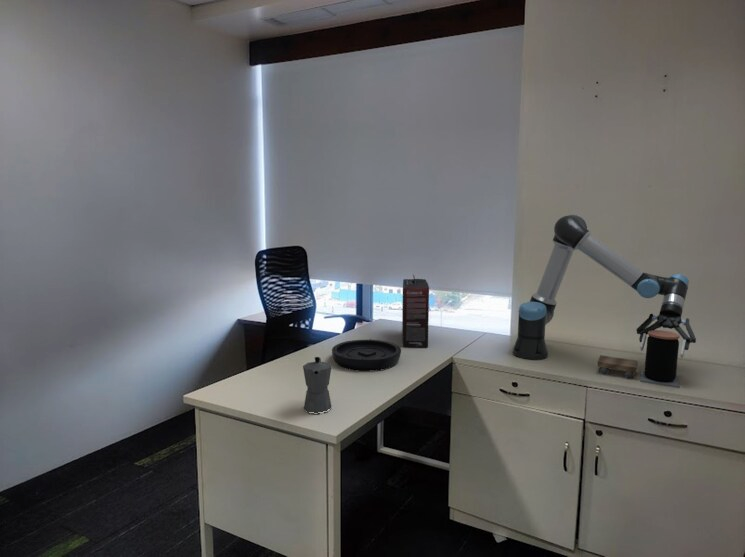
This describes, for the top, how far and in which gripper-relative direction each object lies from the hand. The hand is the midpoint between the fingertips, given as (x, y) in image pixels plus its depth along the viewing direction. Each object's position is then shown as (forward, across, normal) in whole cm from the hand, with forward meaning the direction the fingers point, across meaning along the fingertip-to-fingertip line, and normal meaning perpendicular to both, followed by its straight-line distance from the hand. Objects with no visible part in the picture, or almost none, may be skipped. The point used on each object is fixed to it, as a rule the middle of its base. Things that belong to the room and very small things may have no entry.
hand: (661, 352), depth 189 cm
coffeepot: (+81, +83, +64) cm, 133 cm away
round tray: (+47, +103, +30) cm, 117 cm away
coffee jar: (+6, 0, -9) cm, 11 cm away
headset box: (+19, +104, +2) cm, 106 cm away
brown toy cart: (+9, +15, -8) cm, 19 cm away
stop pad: (+7, 0, -10) cm, 12 cm away
